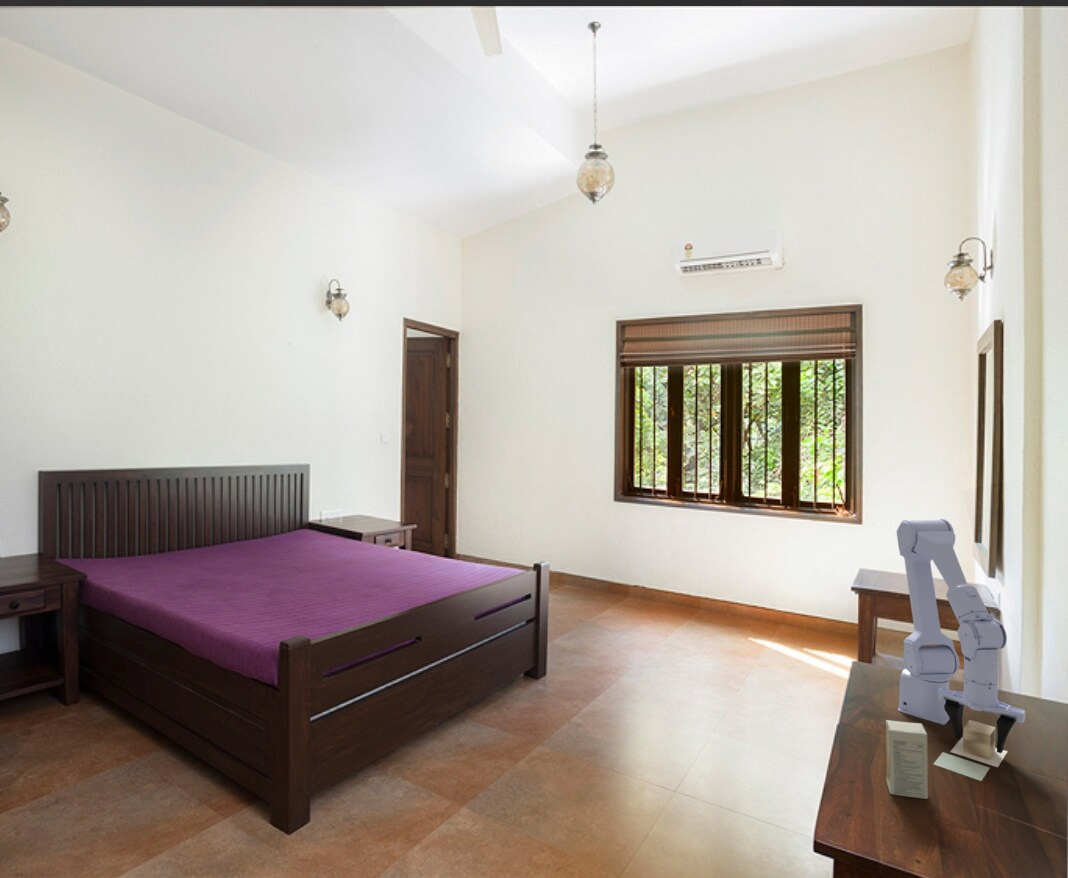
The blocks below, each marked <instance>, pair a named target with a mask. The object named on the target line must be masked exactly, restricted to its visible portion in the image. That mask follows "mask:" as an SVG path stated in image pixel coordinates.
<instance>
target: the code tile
mask: <svg viewBox="0 0 1068 878" xmlns="http://www.w3.org/2000/svg"><path fill="white" fill-rule="evenodd" d="M950 753H953V754H957V755H960V756H963V757H965V758H968V759H971V760H974V761H976V762H977V761H978V762H980V763H984V764H987V765H989V766H992V767H996V768H998V767H999V766H1000V764H1001V763H1002V761H1003V760H1004V758H1005V756H1006V755H1007V753H1008V750H1004V749H1003V751H1002V753H998V752H997V747H995V752H994V754H993V755H992V757H991V758H990V760H988V759H985V758H982V757H978V756H975V755H972V754H969V753H966V752H963V736H962V738H961V739H960V740H958V741H957V742H956V744H954V747H952V748H951V750H950Z"/></svg>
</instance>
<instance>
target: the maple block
mask: <svg viewBox="0 0 1068 878" xmlns="http://www.w3.org/2000/svg"><path fill="white" fill-rule="evenodd" d="M996 732H997V726H996V727H995V726H992V725H990V724H989V725H988V724H986V723H982V722H979V721H976V720H972V719H969V720H968V721H967V722H966V724H965V725H964V727H963V734H962V737H963V752H966V753H969V754H972V755H975V756H978V757H982V758H985V759H988V760H990V758H991V757H992V755H993V754H994V752H995V748H996V734H997V733H996Z"/></svg>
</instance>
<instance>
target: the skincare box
mask: <svg viewBox="0 0 1068 878" xmlns="http://www.w3.org/2000/svg"><path fill="white" fill-rule="evenodd" d="M885 743H886V744H885V745H886V749H885V750H886V751H885V752H886V755H885V756H886V757H885V758H886V762H885V763H886V767H885V769H886V784H887V787H888V792H889V794H891V795H894V796H895V795H896V796H900V797H901V796H902V797H907V798H908V797H909V798H917V799H923V800H924V799H925V800H927V799H928V798H929V792H928V791H929V785H928V784H929V782H928V781H929V779H928V778H929V777H928V776H929V775H928V770H929V769H928V734H927V731H926V728H925V726H924V725H923V723H919V722H913V721H912V722H911V721H910V722H909V721H900V720H890V719H886V720H885ZM928 800H929V799H928Z"/></svg>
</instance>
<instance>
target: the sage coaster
mask: <svg viewBox="0 0 1068 878" xmlns="http://www.w3.org/2000/svg"><path fill="white" fill-rule="evenodd" d="M933 765H934V766H936V767H938V768H939V767H940V768H942V769H944V770H945V769H946V770H947V771H951V772H954V773H957V774H959V775H962V776H965V777H968V778H970V779H974V780H977V781H979V782H982V781H983V779H984V778H985V777H986V775H987V774H988V772H989V770H990V769H991V768H990V766H989V767H988V766H985V765H983V764H980V763H976V762H973V761H970V760H967V759H964V758H961V757H958V756H955V755H952V754H949V753H946V752H941V754H940V755H939V756H938V757H937V759H936V760H935V761H934V763H933Z"/></svg>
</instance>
